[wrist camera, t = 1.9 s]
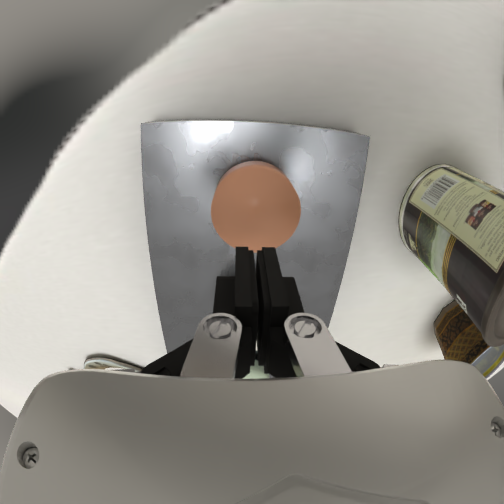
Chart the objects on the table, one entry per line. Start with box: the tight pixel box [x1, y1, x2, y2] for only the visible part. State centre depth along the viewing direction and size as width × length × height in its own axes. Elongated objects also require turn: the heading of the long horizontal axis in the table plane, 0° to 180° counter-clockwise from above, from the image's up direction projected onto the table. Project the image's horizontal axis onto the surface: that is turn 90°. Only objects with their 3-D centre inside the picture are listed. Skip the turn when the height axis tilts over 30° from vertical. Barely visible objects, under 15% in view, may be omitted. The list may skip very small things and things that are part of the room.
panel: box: [141, 120, 370, 378], centre depth 25 cm, size 16×28×3 cm, turn 177°
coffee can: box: [399, 164, 504, 347], centre depth 18 cm, size 10×10×14 cm
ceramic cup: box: [434, 300, 504, 379], centre depth 26 cm, size 13×10×10 cm
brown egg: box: [211, 161, 301, 253], centre depth 19 cm, size 5×5×5 cm
